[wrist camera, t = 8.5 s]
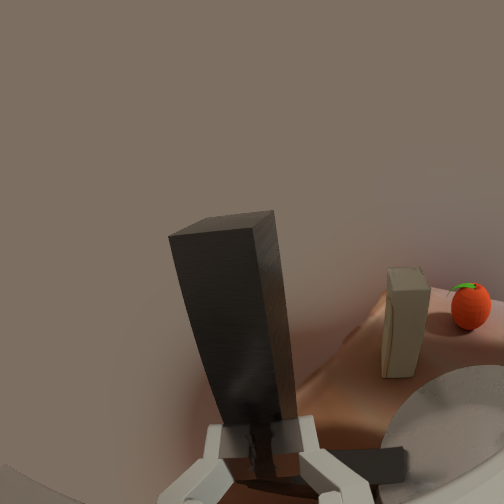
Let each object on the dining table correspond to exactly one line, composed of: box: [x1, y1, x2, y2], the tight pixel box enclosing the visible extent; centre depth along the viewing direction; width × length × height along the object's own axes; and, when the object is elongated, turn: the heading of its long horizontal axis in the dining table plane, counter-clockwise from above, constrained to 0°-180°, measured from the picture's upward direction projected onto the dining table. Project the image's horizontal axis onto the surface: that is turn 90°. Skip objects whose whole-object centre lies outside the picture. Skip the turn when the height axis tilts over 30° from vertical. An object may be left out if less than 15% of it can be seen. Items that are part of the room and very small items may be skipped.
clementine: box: [446, 283, 491, 330], centre depth 31 cm, size 8×7×7 cm
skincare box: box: [381, 267, 431, 378], centre depth 28 cm, size 6×4×12 cm
